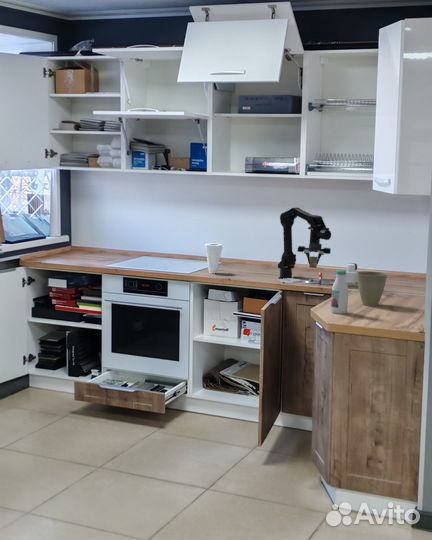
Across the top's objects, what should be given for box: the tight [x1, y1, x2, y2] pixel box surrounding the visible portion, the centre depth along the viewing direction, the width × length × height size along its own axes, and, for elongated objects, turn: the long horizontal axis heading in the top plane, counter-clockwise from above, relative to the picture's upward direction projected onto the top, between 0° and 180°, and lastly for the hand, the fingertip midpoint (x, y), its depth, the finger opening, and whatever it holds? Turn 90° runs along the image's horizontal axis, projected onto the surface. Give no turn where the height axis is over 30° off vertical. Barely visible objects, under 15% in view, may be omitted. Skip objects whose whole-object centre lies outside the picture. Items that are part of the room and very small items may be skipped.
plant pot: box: [357, 271, 388, 307], centre depth 390 cm, size 15×15×16 cm
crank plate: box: [295, 279, 333, 287], centre depth 448 cm, size 16×14×4 cm
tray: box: [279, 277, 303, 284], centre depth 452 cm, size 9×9×2 cm
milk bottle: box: [330, 269, 349, 315], centre depth 366 cm, size 8×8×20 cm
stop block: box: [308, 255, 318, 269], centre depth 448 cm, size 4×4×6 cm
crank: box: [303, 272, 323, 285], centre depth 450 cm, size 13×9×5 cm
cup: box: [204, 243, 223, 274], centre depth 478 cm, size 11×11×18 cm
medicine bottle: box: [345, 262, 359, 284], centre depth 456 cm, size 7×7×12 cm
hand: (313, 264), depth 448 cm, fingers closed on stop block, 4 cm apart
